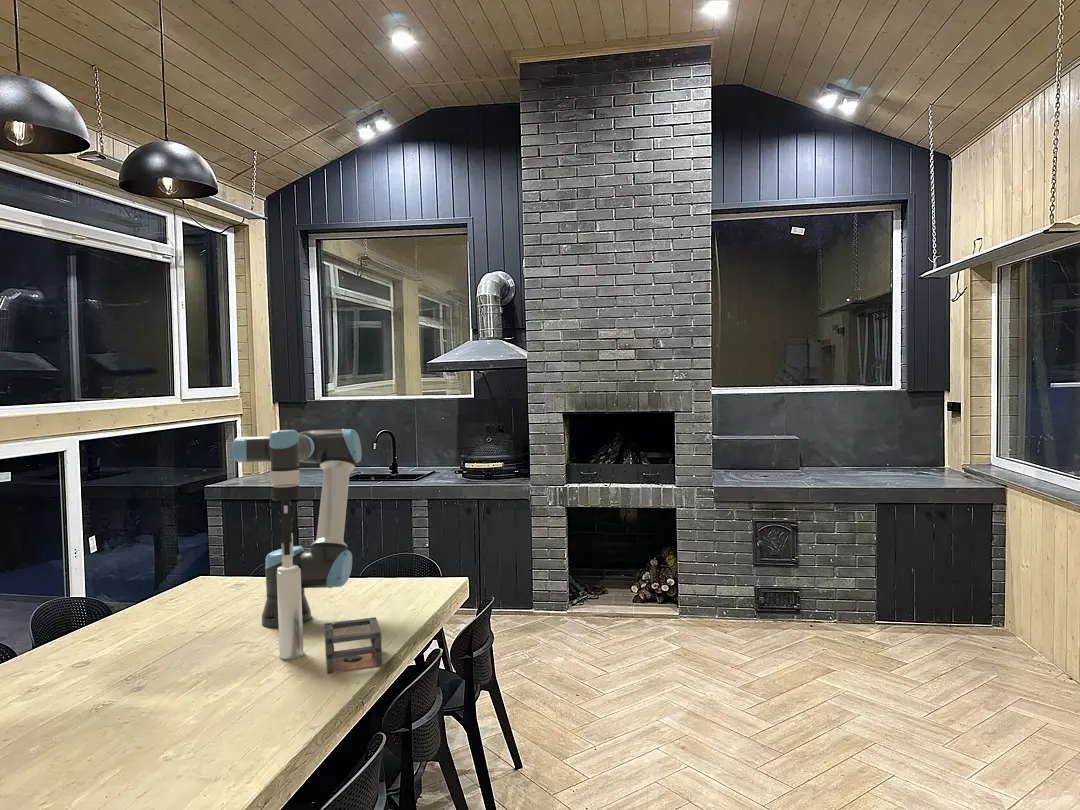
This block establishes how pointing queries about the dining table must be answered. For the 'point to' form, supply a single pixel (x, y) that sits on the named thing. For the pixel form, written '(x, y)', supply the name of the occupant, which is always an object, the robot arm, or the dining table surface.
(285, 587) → the white tall cylinder
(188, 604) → the dining table surface
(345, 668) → the collar stand
